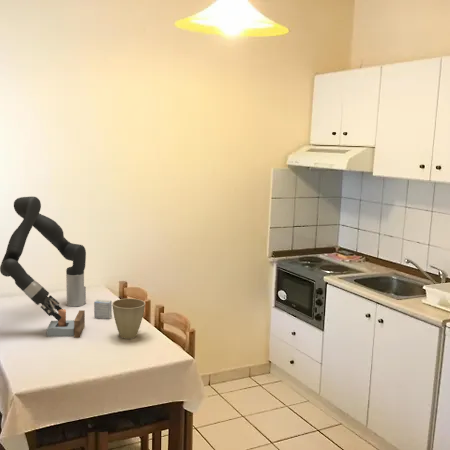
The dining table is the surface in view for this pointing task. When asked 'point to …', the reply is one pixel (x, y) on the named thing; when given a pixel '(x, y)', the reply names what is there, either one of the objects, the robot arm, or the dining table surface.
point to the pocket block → (60, 329)
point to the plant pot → (128, 316)
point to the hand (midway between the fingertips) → (61, 316)
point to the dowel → (63, 320)
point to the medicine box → (103, 309)
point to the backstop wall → (79, 323)
